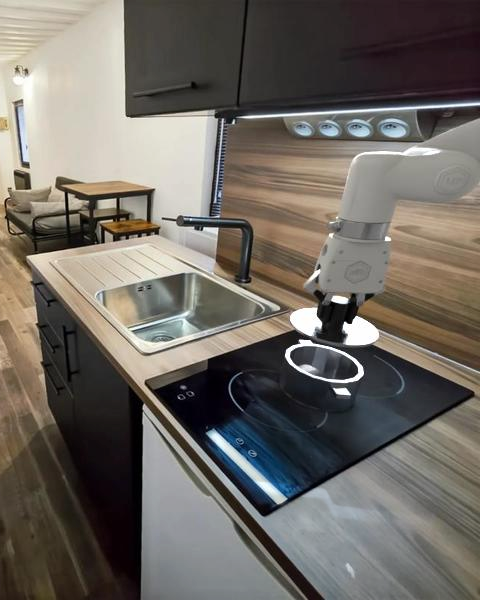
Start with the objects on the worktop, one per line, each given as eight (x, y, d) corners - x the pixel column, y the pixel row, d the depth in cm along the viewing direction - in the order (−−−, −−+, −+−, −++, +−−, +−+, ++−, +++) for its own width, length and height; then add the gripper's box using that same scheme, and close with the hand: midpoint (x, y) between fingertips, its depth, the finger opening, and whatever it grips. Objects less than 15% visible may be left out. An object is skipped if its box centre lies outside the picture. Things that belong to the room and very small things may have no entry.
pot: (329, 365, 86) (337, 338, 82) (374, 425, 69) (386, 394, 65) (267, 362, 88) (273, 336, 85) (296, 419, 71) (304, 389, 68)
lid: (353, 314, 77) (362, 285, 74) (394, 352, 64) (407, 319, 61) (279, 311, 80) (285, 283, 77) (304, 348, 67) (313, 316, 64)
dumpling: (297, 387, 81) (287, 371, 83) (321, 377, 80) (309, 361, 82) (298, 385, 75) (287, 368, 77) (324, 374, 74) (311, 356, 76)
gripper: (317, 234, 61) (294, 329, 69) (430, 234, 58) (393, 332, 66) (300, 223, 68) (281, 311, 76) (401, 223, 65) (370, 313, 73)
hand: (334, 320), depth 71 cm, fingers closed on lid, 3 cm apart
